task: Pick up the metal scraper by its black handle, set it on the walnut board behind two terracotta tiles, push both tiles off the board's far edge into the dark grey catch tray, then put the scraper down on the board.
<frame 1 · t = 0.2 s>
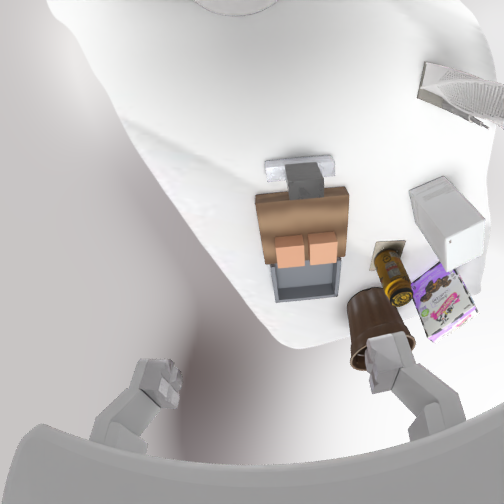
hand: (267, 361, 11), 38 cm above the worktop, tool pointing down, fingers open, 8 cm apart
condiment: (386, 254, 58), on the worktop
tray: (304, 269, 61), on the worktop
skyscraper: (433, 82, 33), on the worktop
board: (302, 222, 53), on the worktop
tile 2: (289, 246, 53), point 3 cm above the worktop, touching board
plant pot: (368, 301, 68), on the worktop
candy box: (430, 275, 62), on the worktop
tile 1: (320, 243, 52), point 3 cm above the worktop, touching board
scraper: (298, 164, 45), on the worktop
supplement box: (429, 199, 48), on the worktop
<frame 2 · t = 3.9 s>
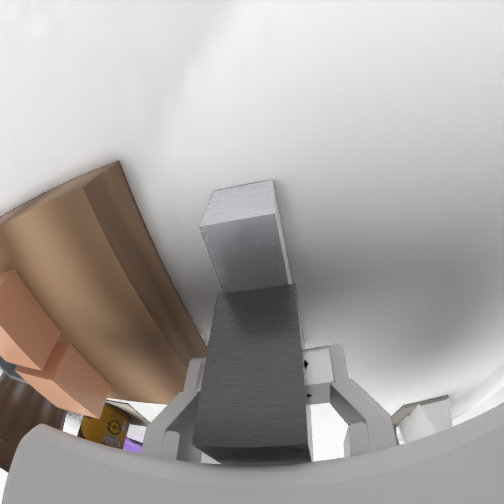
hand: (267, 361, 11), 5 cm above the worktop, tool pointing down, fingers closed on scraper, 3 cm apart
condiment: (116, 409, 29), on the worktop
tray: (7, 309, 18), on the worktop
skyscraper: (419, 408, 26), on the worktop
board: (89, 304, 16), on the worktop
tile 2: (19, 304, 13), point 3 cm above the worktop, touching board
plant pot: (38, 386, 30), on the worktop
tile 1: (69, 363, 16), point 3 cm above the worktop, touching board
scraper: (267, 284, 14), on the worktop, touching gripper
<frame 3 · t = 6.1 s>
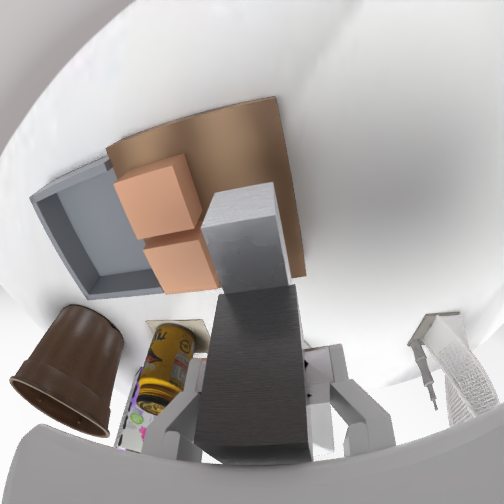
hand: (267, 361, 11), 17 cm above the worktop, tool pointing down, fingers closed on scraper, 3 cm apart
condiment: (182, 335, 38), on the worktop
tray: (108, 224, 28), on the worktop
skyscraper: (437, 324, 35), on the worktop
board: (215, 198, 25), on the worktop
tile 2: (165, 189, 22), point 3 cm above the worktop, touching board
plant pot: (93, 329, 40), on the worktop
candy box: (170, 384, 48), on the worktop
tile 1: (188, 248, 25), point 3 cm above the worktop, touching board
scraper: (268, 285, 15), point 12 cm above the worktop, touching gripper
supplement box: (288, 359, 40), on the worktop
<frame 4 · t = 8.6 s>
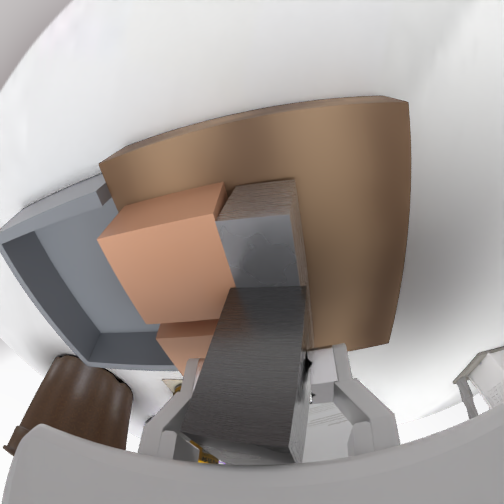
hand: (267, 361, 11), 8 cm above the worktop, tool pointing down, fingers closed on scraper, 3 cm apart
condiment: (207, 392, 30), on the worktop
tray: (107, 271, 19), on the worktop
skyscraper: (484, 359, 27), on the worktop
board: (276, 244, 17), on the worktop
tile 2: (187, 239, 14), point 3 cm above the worktop, touching board
plant pot: (95, 379, 31), on the worktop
tile 1: (221, 323, 17), point 3 cm above the worktop, touching scraper
scraper: (284, 282, 14), point 3 cm above the worktop, tilted 9°, touching gripper, tile 1
supplement box: (329, 409, 32), on the worktop
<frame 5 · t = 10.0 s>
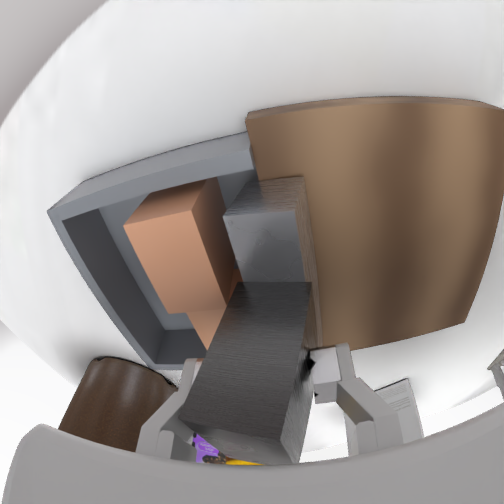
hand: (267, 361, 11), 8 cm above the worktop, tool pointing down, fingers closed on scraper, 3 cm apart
tray: (193, 257, 18), on the worktop
board: (387, 227, 16), on the worktop
tile 2: (219, 232, 13), point 3 cm above the worktop, tilted 90°, touching tray
plant pot: (136, 382, 30), on the worktop
candy box: (228, 431, 38), on the worktop
tile 1: (240, 297, 19), point 1 cm above the worktop, touching scraper, tray
scraper: (293, 278, 15), point 3 cm above the worktop, tilted 13°, touching board, gripper, tile 1
supplement box: (380, 399, 31), on the worktop
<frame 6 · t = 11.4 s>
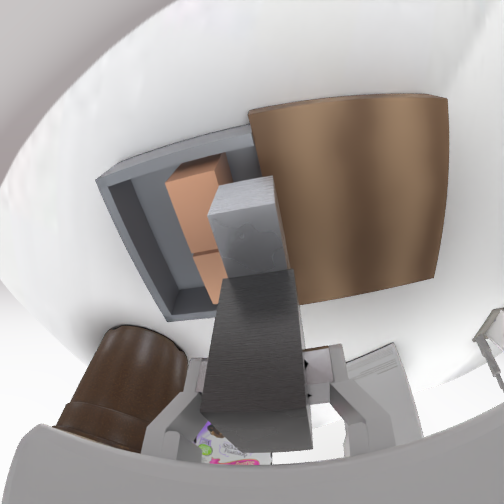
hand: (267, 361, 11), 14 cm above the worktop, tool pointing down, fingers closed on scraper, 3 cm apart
tray: (206, 221, 23), on the worktop
skyscraper: (497, 318, 31), on the worktop
board: (356, 194, 21), on the worktop
tile 2: (229, 193, 18), point 3 cm above the worktop, tilted 90°, touching tray
plant pot: (147, 352, 35), on the worktop
candy box: (230, 405, 43), on the worktop
tile 1: (236, 254, 24), point 1 cm above the worktop, touching tray
scraper: (268, 274, 16), point 8 cm above the worktop, touching gripper
supplement box: (371, 366, 36), on the worktop
when the fingers open (9 cm above the worktop, at t = 14.5 s): scraper stays where it is, resting on board.
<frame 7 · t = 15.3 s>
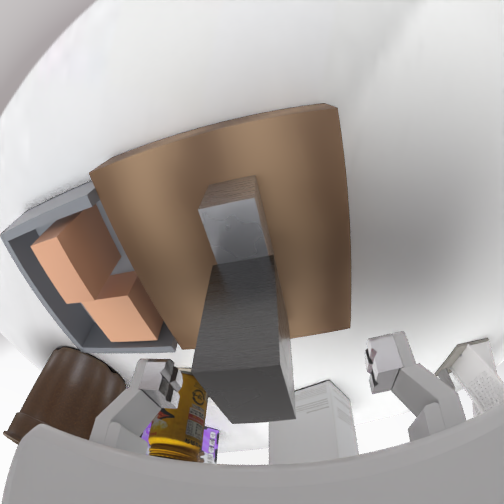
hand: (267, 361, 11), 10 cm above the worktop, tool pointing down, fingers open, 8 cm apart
condiment: (192, 381, 32), on the worktop
tray: (99, 265, 22), on the worktop
skyscraper: (466, 351, 30), on the worktop
board: (239, 237, 20), on the worktop
tile 2: (92, 248, 17), point 3 cm above the worktop, tilted 90°, touching tray
plant pot: (90, 370, 33), on the worktop
candy box: (178, 422, 41), on the worktop
tile 1: (129, 296, 23), point 1 cm above the worktop, touching tray
scraper: (255, 263, 17), point 3 cm above the worktop, touching board
supplement box: (311, 399, 34), on the worktop
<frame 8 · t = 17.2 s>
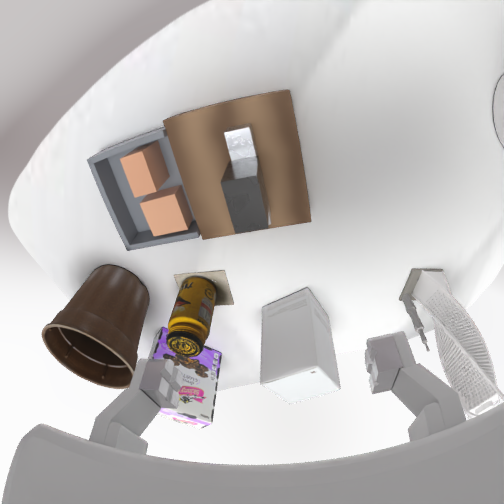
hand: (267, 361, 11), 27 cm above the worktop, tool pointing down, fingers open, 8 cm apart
condiment: (204, 288, 46), on the worktop
tray: (151, 185, 35), on the worktop
skyscraper: (424, 280, 43), on the worktop
board: (242, 163, 33), on the worktop
tile 2: (157, 164, 31), point 3 cm above the worktop, tilted 90°, touching tray
plant pot: (121, 289, 47), on the worktop
candy box: (187, 345, 56), on the worktop
tile 1: (170, 205, 36), point 1 cm above the worktop, touching tray
scraper: (250, 171, 31), point 3 cm above the worktop, touching board
supplement box: (296, 311, 48), on the worktop
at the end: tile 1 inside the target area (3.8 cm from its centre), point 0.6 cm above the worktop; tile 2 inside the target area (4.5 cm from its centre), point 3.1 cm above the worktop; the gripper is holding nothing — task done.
